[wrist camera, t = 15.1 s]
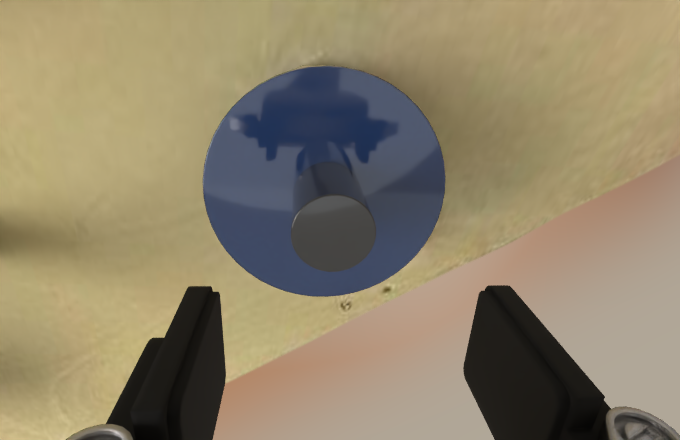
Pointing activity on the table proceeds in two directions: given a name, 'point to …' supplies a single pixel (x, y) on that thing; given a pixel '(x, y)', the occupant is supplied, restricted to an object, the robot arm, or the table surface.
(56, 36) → the table surface
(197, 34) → the table surface
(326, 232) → the lid
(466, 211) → the table surface
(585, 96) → the table surface
